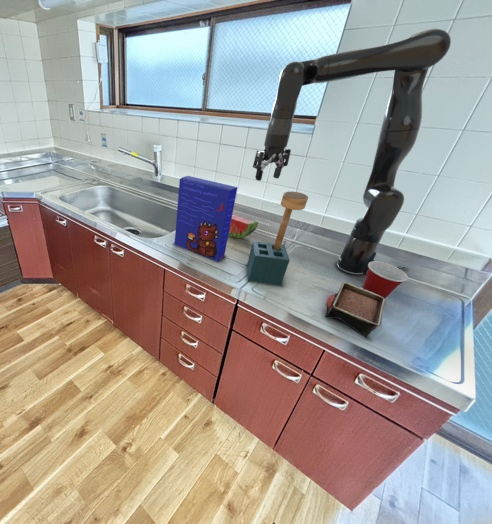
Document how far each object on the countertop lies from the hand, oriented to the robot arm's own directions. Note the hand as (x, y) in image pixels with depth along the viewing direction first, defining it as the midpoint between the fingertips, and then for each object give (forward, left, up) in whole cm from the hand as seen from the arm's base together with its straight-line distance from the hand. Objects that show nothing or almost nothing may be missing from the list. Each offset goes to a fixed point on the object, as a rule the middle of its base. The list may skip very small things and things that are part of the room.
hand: (267, 179), depth 108 cm
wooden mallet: (-7, +18, -32) cm, 37 cm away
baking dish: (-28, +35, -32) cm, 55 cm away
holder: (-4, +17, -32) cm, 36 cm away
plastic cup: (-39, +22, -32) cm, 55 cm away
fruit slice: (+10, -17, -32) cm, 37 cm away
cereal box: (+22, +5, -32) cm, 39 cm away
